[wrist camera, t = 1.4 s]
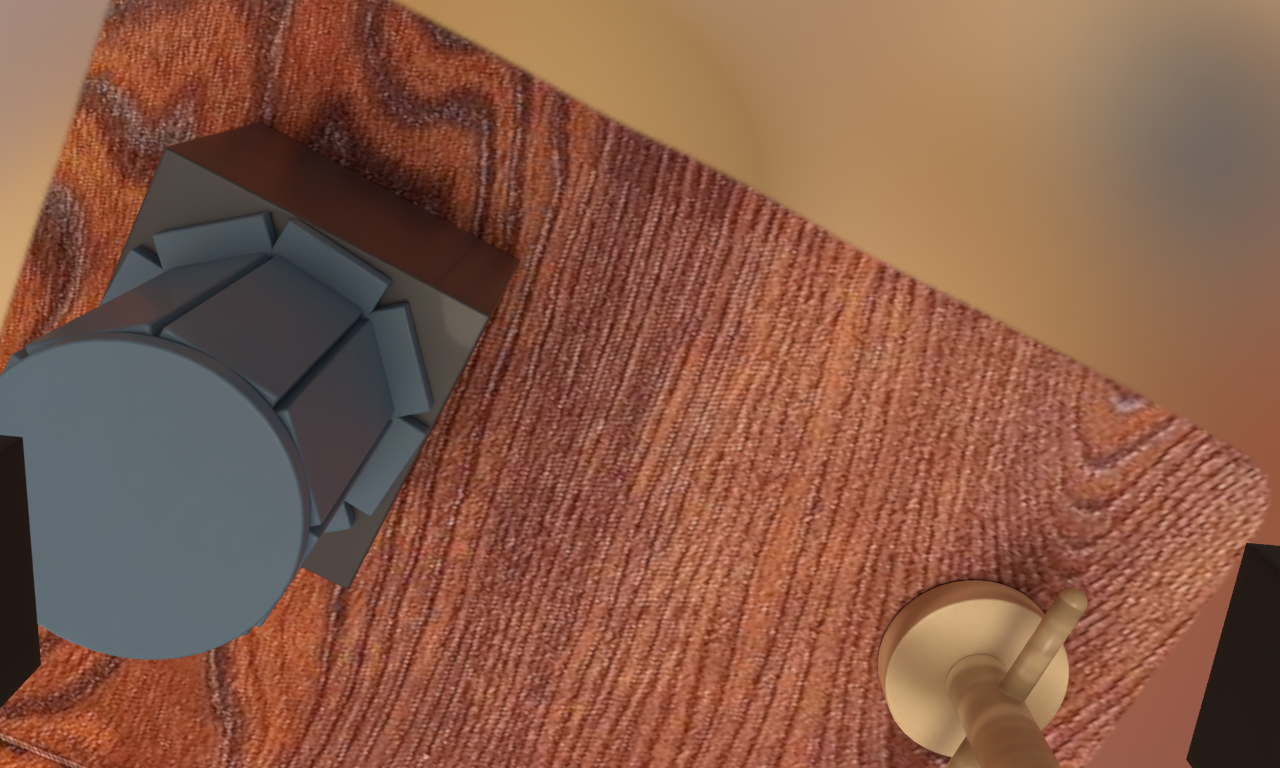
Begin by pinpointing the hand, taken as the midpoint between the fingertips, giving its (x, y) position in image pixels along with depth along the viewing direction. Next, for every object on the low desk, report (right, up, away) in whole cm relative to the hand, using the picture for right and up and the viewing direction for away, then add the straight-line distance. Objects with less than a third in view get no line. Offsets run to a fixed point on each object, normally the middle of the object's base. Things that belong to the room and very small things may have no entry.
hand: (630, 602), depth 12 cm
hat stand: (+13, -9, +33) cm, 36 cm away
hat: (-11, +2, +21) cm, 24 cm away
